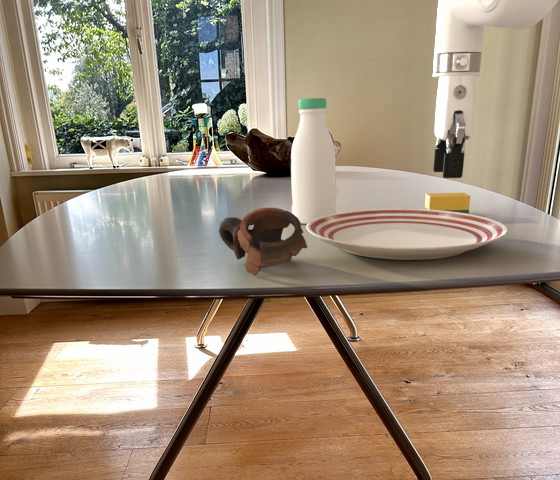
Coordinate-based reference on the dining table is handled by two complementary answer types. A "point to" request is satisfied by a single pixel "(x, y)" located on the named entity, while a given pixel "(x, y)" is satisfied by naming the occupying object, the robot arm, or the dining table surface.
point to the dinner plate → (406, 232)
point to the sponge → (448, 202)
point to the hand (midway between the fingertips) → (446, 174)
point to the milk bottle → (313, 164)
